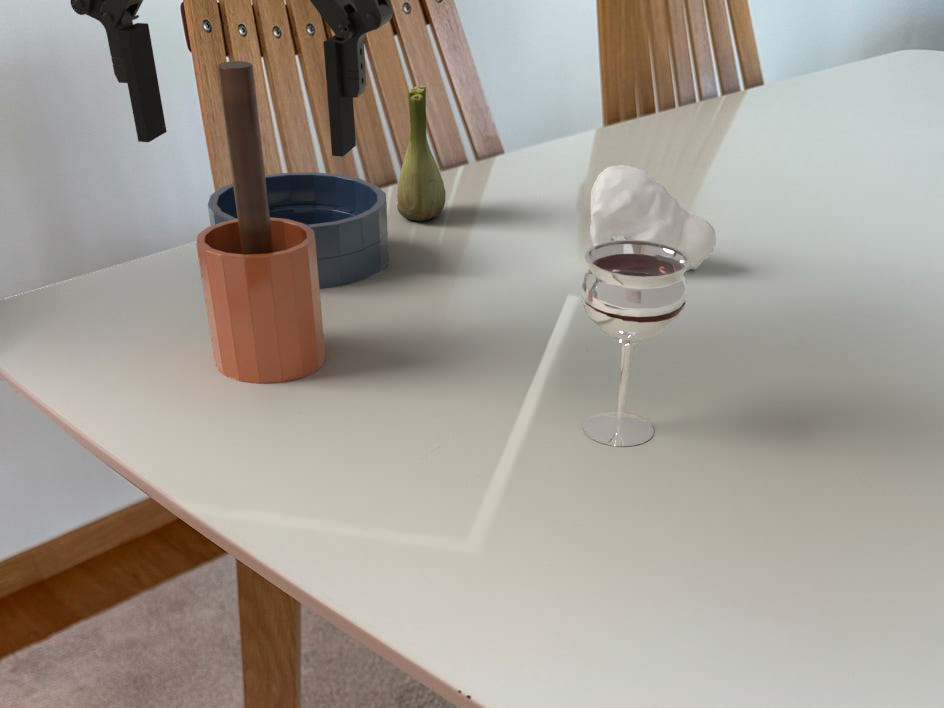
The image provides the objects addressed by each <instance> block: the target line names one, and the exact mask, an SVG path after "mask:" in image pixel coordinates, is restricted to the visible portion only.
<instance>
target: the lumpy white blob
mask: <svg viewBox="0 0 944 708" xmlns="http://www.w3.org/2000/svg"><path fill="white" fill-rule="evenodd" d="M589 235H590V238H591V241H592V244H593V246H595V245H598V244H600V243H603V242H609V241H615V240H616V239H614V238H615V237H622V238H623V239H624V240H644V241H652V242H657V243H663V244H666V245H669V246H672V247H675V248H677V249H679V250H681V251H683V252H684V253H686V254H687V256H688V257H689V258H690V266H689V267H688V268H687V269H686V271H685V272H687V271H689V270H693V271H696V270H697V269H698V268H699V267H700V266H701V264H702V263H703V262H704V261H705V260H707V259H708V258H710V257H711V256H712V254H713V253H714V251H715V247H716V243H717V234H716V230H715V228H714V227H713V225H712V223H710V222H709V221H708V220H706V219H704V218H701V217H700V216H696V215H692V214H690V213H689V212H688V211H687V210H686V209H685V208H683V207H681V206H680V204H679V202H678V201H677V199H676V198H675V197H673V196H672V195H671V194H670V193H669V192H668V190H667V188H666V187H665V186H664V185H662V184H661V183H660V182H658V181H657V180H656V179H655V178H654V177H653V176H652V175H651V174H650V173H649V172H647V171H645V170H643V169H641V168H638V167H635V166H632V165H626V164H619V165H612V166H610V165H609V166H608V167H606V168H605V169H604V170H602V171H601V172H600V173H599V174H598V175H597V178H596V179H595V181H594V183H593V186H592V188H591V190H590V225H589Z"/></svg>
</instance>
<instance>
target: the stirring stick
mask: <svg viewBox="0 0 944 708" xmlns="http://www.w3.org/2000/svg"><path fill="white" fill-rule="evenodd" d="M217 71H218V79H219V87H220V94H221V101H222V109H223V118H224V124H225V131H226V132H225V133H226V139H227V147H228V157H229V162H230V170H231V178H232V183H233V186H234V194H235V202H236V209H237V217H238V225H239V232H240V240H241V247H242V254H244V255H249V254H268V253H273V252H274V251H273V242H272V233H271V224H270V215H269V206H268V197H267V188H266V179H265V175H266V171H265V162H264V153H263V144H262V136H261V128H260V118H259V117H260V116H259V109H258V100H257V91H256V81H255V72H254V65H253V64H252V62H248V61H245V60H244V61H243V60H232V61H231V60H230V61H223V62H221V63H218V64H217Z"/></svg>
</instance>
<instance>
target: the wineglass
mask: <svg viewBox="0 0 944 708" xmlns="http://www.w3.org/2000/svg"><path fill="white" fill-rule="evenodd" d="M614 240H615V241H609V242H603V243H600V244H598V245H595V246H594V245H591V247H590V248H589V249H587V250H585V254H584V259H585V263H586V264H587V266H588V269H587V271H586V272H585V273H584V277H583V280H582V284H581V301H582V304H583V307H584V311H585V313H586V315H587V316H588V317H589V318H590V319H591V321H592V322H593V323H594V324H595V325H596V326H597V327H598V329H599V330H600V331H601V332H603V333H604V334H606V335H608V336H610V337H614V338H615V340H616V341H617V343H618V344H619V345H621V350H620V351H621V353H620V368H619V380H618V381H619V383H618V398H617V411H607V412H601V413H596V414H594V415H592V416H590V417H588V418H587V419H585V421H584V422H583V427H582V429H583V431H584V433H585V435H587V436H588V437H589V438H590V439H592V440H593V441H596V442H598V443H599V444H603V445H608V446H613V447H633V446H638V445H641V444H645V443H646V442H648V441H649V440H651V438H652V437H653V436H654V434H655V432H654V431H655V429H654V427H653V425H652V424H651V423H650V422H649V421H648V420H646V419H645V418H643V417H641V416H638V415H637V414H633V413H628V412H624V410H625V403H626V397H627V392H628V385H629V384H628V383H629V379H630V372H631V365H632V359H633V354H634V353H633V352H634V346H637V345H638V344H639V343H640V342H641V341H642V340H646V339H650V338H653V337H655V336H658V335H659V334H660V333H661V332H663V331H664V330H666V329H667V328H668V327H670V326H671V325H673V323H675V321H676V320H677V319H678V318H679V316H680V314H681V312H682V311H683V310H684V309H685V306H686V300H687V296H688V289H687V280H686V277H685V276H684V274H685V272H687V271H686V269H688V267H689V266H690V258H689V257H688V256H687V254H686V253H684V252H683V251H681V250H679V249H677V248H675V247H672V246H669V245H666V244H663V243H657V242H652V241H644V240H626V239H617V240H616V239H614Z"/></svg>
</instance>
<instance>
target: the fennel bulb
mask: <svg viewBox="0 0 944 708" xmlns="http://www.w3.org/2000/svg"><path fill="white" fill-rule="evenodd" d="M407 96H408V97H407V98H408V107H409V108H408V112H409V125H410V127H409V128H410V134H409V140H408V144H407V148H406V151H405V154H404V158H403V162H402V165H401V169H400V174H399V179H398V182H397V183H398V184H397V194H396V198H397V207H396V208H397V211H398V213H399V214H400V215H401V216H402V218H404V219H406V220H411V221H415V222H424V221H427V220H431V219H433V218H435V217H438V216H439V215H440V214H441V213H442V212H443V210H444V207H445V204H446V200H447V199H446V195H447V193H446V187H445V184H444V180H443V178H442V177H443V176H442V174H441V172H440V169H439V167H438V164H437V162H436V160H435V157H434V155H433V153H432V150H431V147H430V145H429V142H428V137H427V86H425V85H423V84H422V85H416V86H413V88H411V89H409V91H408V92H407Z"/></svg>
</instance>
